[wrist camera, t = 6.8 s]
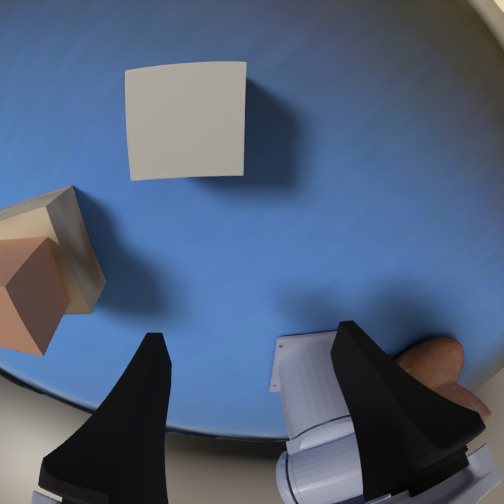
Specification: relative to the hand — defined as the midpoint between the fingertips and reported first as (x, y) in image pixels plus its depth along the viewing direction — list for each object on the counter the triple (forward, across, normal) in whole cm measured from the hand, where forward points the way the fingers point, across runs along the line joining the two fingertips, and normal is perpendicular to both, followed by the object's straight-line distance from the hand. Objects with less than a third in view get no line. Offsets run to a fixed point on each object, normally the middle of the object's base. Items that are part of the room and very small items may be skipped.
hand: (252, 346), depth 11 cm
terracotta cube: (+6, +14, 0) cm, 15 cm away
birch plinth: (+10, +15, 0) cm, 18 cm away
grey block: (+10, +2, -8) cm, 13 cm away
